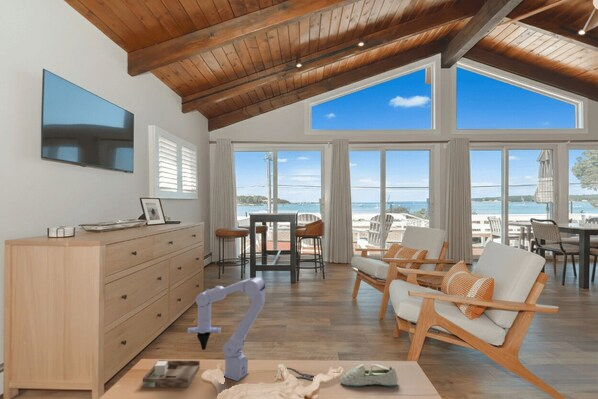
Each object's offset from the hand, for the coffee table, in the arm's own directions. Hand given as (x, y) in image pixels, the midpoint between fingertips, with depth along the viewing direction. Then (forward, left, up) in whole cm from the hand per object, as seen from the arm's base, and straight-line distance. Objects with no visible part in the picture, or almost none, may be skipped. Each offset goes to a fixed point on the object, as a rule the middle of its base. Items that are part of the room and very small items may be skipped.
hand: (204, 348), depth 149 cm
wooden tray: (+7, +11, -9) cm, 16 cm away
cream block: (+11, +14, -7) cm, 19 cm away
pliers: (-39, -19, -10) cm, 44 cm away
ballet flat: (-68, -28, -10) cm, 74 cm away
